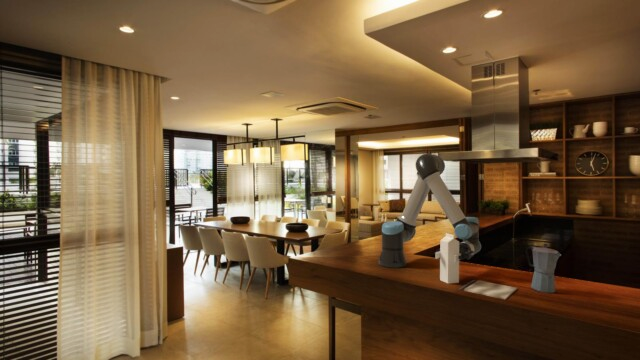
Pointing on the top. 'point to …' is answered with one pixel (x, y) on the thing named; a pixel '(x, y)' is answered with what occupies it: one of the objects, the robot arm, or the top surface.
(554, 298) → the top surface
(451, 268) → the milk
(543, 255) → the moka pot
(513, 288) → the mat
